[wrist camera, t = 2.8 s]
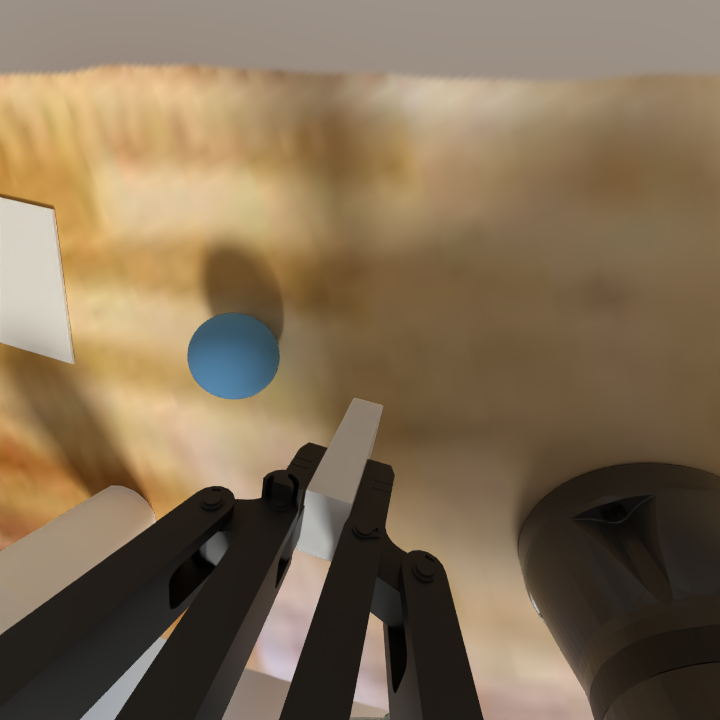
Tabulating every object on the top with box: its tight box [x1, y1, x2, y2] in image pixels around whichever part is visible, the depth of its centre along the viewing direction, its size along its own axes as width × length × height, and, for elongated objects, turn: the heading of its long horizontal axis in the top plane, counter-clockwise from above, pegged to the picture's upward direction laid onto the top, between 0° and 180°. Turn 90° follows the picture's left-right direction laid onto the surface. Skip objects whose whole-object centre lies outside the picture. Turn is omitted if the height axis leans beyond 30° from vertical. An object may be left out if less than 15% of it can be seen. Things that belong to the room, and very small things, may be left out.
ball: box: [188, 313, 280, 399], centre depth 22 cm, size 6×6×6 cm
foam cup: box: [0, 485, 156, 635], centre depth 29 cm, size 10×9×13 cm
